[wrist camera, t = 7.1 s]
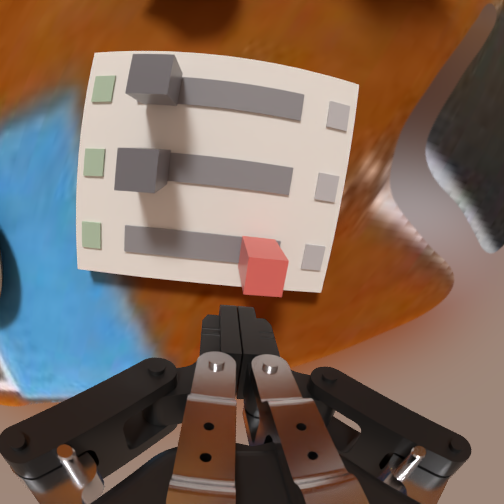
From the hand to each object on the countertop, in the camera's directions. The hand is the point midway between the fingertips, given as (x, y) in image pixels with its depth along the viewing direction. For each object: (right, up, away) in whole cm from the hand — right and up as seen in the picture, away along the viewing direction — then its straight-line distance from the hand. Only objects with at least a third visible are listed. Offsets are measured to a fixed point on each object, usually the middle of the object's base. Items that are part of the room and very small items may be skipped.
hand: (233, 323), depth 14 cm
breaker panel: (-2, +10, +9) cm, 13 cm away
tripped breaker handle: (+1, +3, +9) cm, 10 cm away
